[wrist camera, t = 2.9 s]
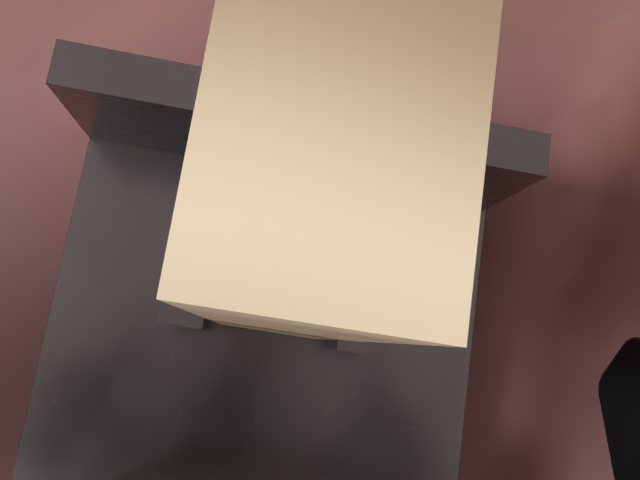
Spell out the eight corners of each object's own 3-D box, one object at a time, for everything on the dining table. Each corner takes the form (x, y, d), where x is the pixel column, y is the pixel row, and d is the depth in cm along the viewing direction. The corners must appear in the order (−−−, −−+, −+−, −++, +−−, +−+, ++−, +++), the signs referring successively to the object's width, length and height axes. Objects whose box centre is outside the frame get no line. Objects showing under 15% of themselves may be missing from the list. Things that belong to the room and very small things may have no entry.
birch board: (315, 338, 16) (466, 347, 5) (220, 324, 15) (155, 299, 5) (337, 193, 16) (511, -86, 5) (246, 176, 16) (244, -147, 5)
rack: (400, 826, 15) (471, 1057, 10) (-40, 793, 14) (-190, 1030, 9) (472, 166, 18) (553, 105, 14) (115, 100, 17) (64, 8, 13)
